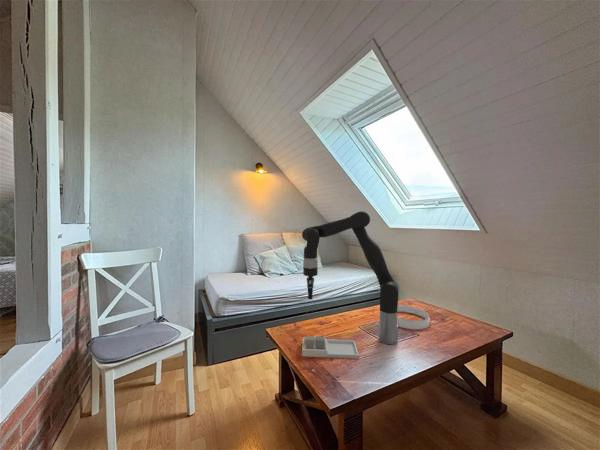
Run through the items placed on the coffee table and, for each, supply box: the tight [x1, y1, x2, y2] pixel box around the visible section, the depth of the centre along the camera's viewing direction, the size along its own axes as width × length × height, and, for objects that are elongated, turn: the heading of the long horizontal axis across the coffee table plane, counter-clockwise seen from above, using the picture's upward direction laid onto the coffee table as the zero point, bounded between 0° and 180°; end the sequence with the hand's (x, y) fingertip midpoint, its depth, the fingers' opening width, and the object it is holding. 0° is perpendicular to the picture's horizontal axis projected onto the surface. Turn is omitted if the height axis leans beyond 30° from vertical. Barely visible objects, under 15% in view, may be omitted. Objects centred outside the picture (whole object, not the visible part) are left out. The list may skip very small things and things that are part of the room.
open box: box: [301, 336, 328, 358], centre depth 130 cm, size 12×12×4 cm
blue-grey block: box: [315, 335, 324, 350], centre depth 130 cm, size 4×4×6 cm
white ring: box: [397, 304, 431, 330], centre depth 168 cm, size 27×27×6 cm
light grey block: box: [305, 335, 315, 349], centre depth 130 cm, size 4×4×6 cm
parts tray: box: [326, 338, 360, 359], centre depth 130 cm, size 15×14×2 cm
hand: (310, 296), depth 133 cm, fingers open, 8 cm apart
